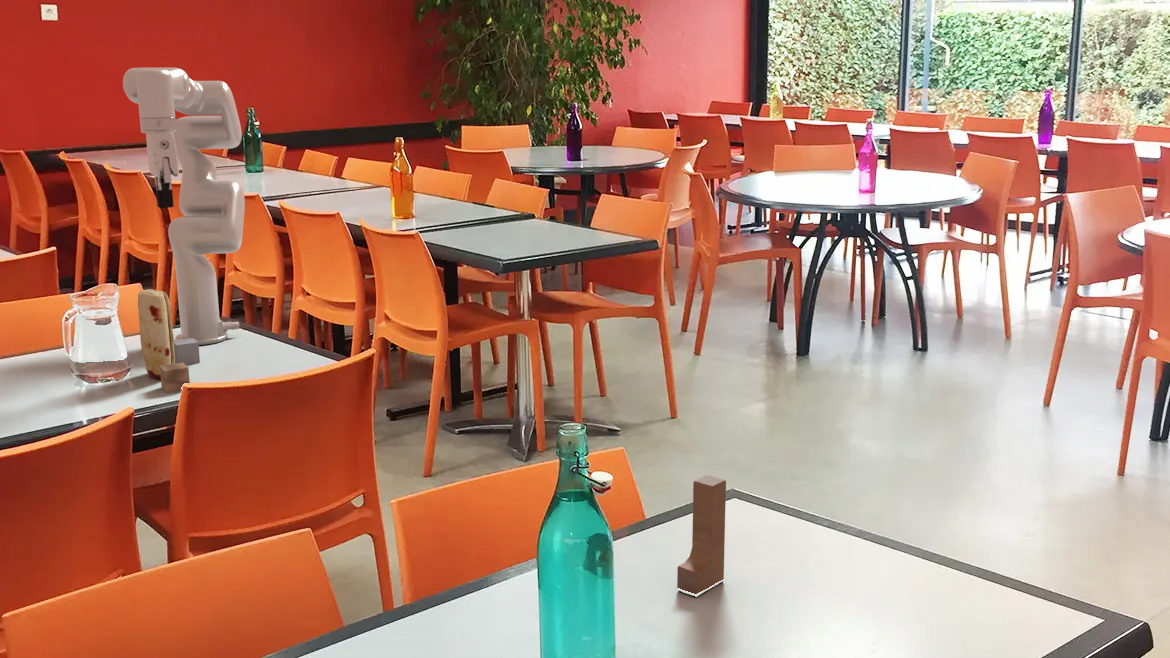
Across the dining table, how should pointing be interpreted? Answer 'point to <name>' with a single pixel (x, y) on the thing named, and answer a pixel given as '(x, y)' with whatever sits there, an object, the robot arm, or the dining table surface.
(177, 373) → the walnut cube
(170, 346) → the food model
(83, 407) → the dining table surface
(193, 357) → the slate cube
